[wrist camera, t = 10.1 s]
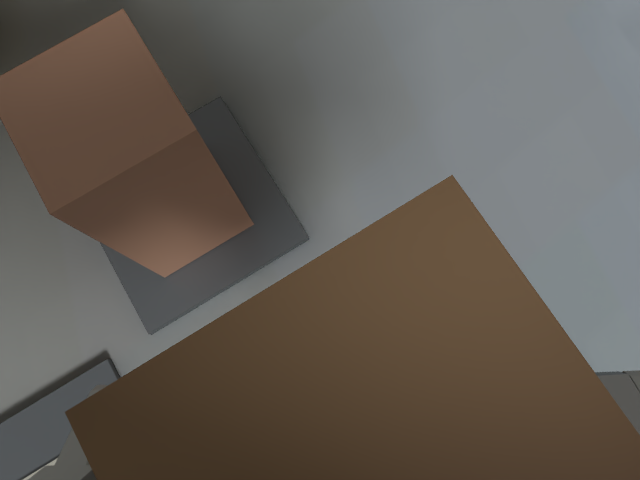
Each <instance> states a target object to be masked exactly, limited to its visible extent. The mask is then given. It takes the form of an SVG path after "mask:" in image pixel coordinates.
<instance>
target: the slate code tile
mask: <svg viewBox="0 0 640 480" xmlns="http://www.w3.org/2000/svg"><path fill="white" fill-rule="evenodd" d="M119 378H120V376H119V374H118V373H117V371H116V369H115V367H114V365H113V363H112V361H111V359H106V360H105V361H103V362H101V363H100V364H98V365H96V366H95V367H93V368H91V369H90V370H88V371H87V372H85V373H83V374H82V375H80V376H78V377H77V378H75V379H73V380H72V381H70V382H68V383H67V384H65V385H63V386H62V387H60V388H58V389H57V390H55V391H53V392H52V393H50V394H48V395H47V396H45V397H43V398H42V399H40V400H39V401H37V402H35V403H34V404H32V405H30V406H29V407H27V408H25V409H24V410H22V411H20V412H19V413H17V414H15V415H14V416H12V417H10V418H9V419H7V420H5V421H4V422H2V423H0V480H28V479H29V478H31V477H32V476H33V475H34V474H36V473H37V472H38V471H39V470H41V469H42V468H43V467H44V466H51V465H55V463H56V461H57V459H58V457H59V455H60V452H61V450H62V448H63V446H64V444H65V442H66V440H67V438H68V436H69V434H70V432H71V430H72V427H71V424H70V422H69V420H68V418H67V416H66V414H65V412H66V411H67V410H69V409H70V408H72V407H74V406H75V405H77V404H79V403H80V402H82V401H83V400H85V399H87V397H88V395H89V393H90V391H91V390H92V389H93V388H94V387H96V386H97V385H110V384H111V383H113V382H115V381H116V380H118V379H119Z"/></svg>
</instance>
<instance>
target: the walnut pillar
mask: <svg viewBox="0 0 640 480" xmlns="http://www.w3.org/2000/svg"><path fill="white" fill-rule="evenodd" d="M65 414H66V416H67V418H68V420H69V422H70V424H71V427H72V429H73V431H74V433H75V435H76V437H77V439H78V441H79V443H80V445H81V448H82V450H83V452H84V454H85V456H86V458H87V460H88V462H89V464H90V467H91V469H92V471H93V473H94V475H95V477H96V479H97V480H640V435H639V433H638V432H637V431H636V429H635V428H634V426H633V425H632V424H631V422H630V421H629V420H628V418H627V417H626V415H625V414H624V413H623V411H622V410H621V408H620V407H619V406H618V404H617V403H616V401H615V400H614V399H613V397H612V396H611V395H610V393H609V392H608V390H607V389H606V388H605V386H604V385H603V383H602V382H601V381H600V379H599V378H598V376H597V375H596V374H595V372H594V371H593V370H592V368H591V367H590V365H589V364H588V363H587V361H586V360H585V358H584V357H583V356H582V354H581V353H580V352H579V350H578V349H577V347H576V346H575V345H574V343H573V342H572V340H571V339H570V338H569V336H568V335H567V333H566V332H565V331H564V329H563V328H562V327H561V325H560V324H559V322H558V321H557V320H556V318H555V317H554V315H553V314H552V313H551V311H550V310H549V308H548V307H547V306H546V304H545V303H544V302H543V300H542V299H541V297H540V296H539V295H538V293H537V292H536V290H535V289H534V288H533V286H532V285H531V283H530V282H529V281H528V279H527V278H526V277H525V275H524V274H523V272H522V271H521V270H520V268H519V267H518V265H517V264H516V263H515V261H514V260H513V258H512V257H511V256H510V254H509V253H508V252H507V250H506V249H505V247H504V246H503V245H502V243H501V242H500V240H499V239H498V238H497V236H496V235H495V233H494V232H493V231H492V229H491V228H490V227H489V225H488V224H487V222H486V221H485V220H484V218H483V217H482V215H481V214H480V213H479V211H478V210H477V209H476V207H475V206H474V204H473V203H472V202H471V200H470V199H469V197H468V196H467V195H466V193H465V192H464V190H463V189H462V188H461V186H460V185H459V184H458V182H457V181H456V179H455V178H454V177H453V175H451V176H450V177H448V178H446V179H445V180H443V181H442V182H440V183H438V184H437V185H435V186H433V187H432V188H430V189H428V190H427V191H425V192H424V193H422V194H420V195H419V196H417V197H415V198H414V199H412V200H410V201H409V202H407V203H406V204H404V205H402V206H401V207H399V208H397V209H396V210H394V211H392V212H391V213H389V214H388V215H386V216H384V217H383V218H381V219H379V220H378V221H376V222H374V223H373V224H371V225H370V226H368V227H366V228H365V229H363V230H361V231H360V232H358V233H357V234H355V235H353V236H352V237H350V238H348V239H347V240H345V241H343V242H342V243H340V244H339V245H337V246H335V247H334V248H332V249H330V250H329V251H327V252H325V253H324V254H322V255H321V256H319V257H317V258H316V259H314V260H312V261H311V262H309V263H307V264H306V265H304V266H303V267H301V268H299V269H298V270H296V271H294V272H293V273H291V274H289V275H288V276H286V277H285V278H283V279H281V280H280V281H278V282H276V283H275V284H273V285H271V286H270V287H268V288H267V289H265V290H263V291H262V292H260V293H258V294H257V295H255V296H254V297H252V298H250V299H249V300H247V301H245V302H244V303H242V304H240V305H239V306H237V307H236V308H234V309H232V310H231V311H229V312H227V313H226V314H224V315H222V316H221V317H219V318H218V319H216V320H214V321H213V322H211V323H209V324H208V325H206V326H204V327H203V328H201V329H200V330H198V331H196V332H195V333H193V334H191V335H190V336H188V337H186V338H185V339H183V340H182V341H180V342H178V343H177V344H175V345H173V346H172V347H170V348H169V349H167V350H165V351H164V352H162V353H160V354H159V355H157V356H155V357H154V358H152V359H151V360H149V361H147V362H146V363H144V364H142V365H141V366H139V367H137V368H136V369H134V370H133V371H131V372H129V373H128V374H126V375H124V376H123V377H121V378H119V379H118V380H116V381H115V382H113V383H111V384H110V385H108V386H106V387H105V388H103V389H101V390H100V391H98V392H97V393H95V394H93V395H92V396H90V397H88V398H87V399H85V400H83V401H82V402H80V403H79V404H77V405H75V406H74V407H72V408H70V409H69V410H67V411H66V412H65Z"/></svg>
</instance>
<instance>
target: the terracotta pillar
mask: <svg viewBox="0 0 640 480" xmlns="http://www.w3.org/2000/svg"><path fill="white" fill-rule="evenodd" d="M0 118H1V120H2V122H3V124H4V126H5V128H6V130H7V132H8V134H9V136H10V138H11V140H12V142H13V144H14V145H15V147H16V149H17V151H18V153H19V155H20V157H21V159H22V161H23V163H24V165H25V167H26V169H27V171H28V173H29V175H30V177H31V179H32V181H33V183H34V184H35V186H36V188H37V190H38V192H39V194H40V196H41V198H42V200H43V202H44V204H45V206H46V208H47V210H48V212H49V214H50V215H52V216H54V217H56V218H57V219H59V220H61V221H63V222H65V223H66V224H68V225H70V226H72V227H74V228H76V229H77V230H79V231H81V232H83V233H85V234H86V235H88V236H90V237H92V238H94V239H95V240H97V241H99V242H101V243H103V244H105V245H106V246H108V247H110V248H112V249H114V250H115V251H117V252H119V253H121V254H123V255H124V256H126V257H128V258H130V259H132V260H134V261H135V262H137V263H139V264H141V265H143V266H144V267H146V268H148V269H150V270H152V271H153V272H155V273H157V274H159V275H161V276H162V277H164V278H165V277H167V276H169V275H170V274H172V273H174V272H175V271H177V270H179V269H180V268H182V267H184V266H185V265H187V264H189V263H190V262H192V261H194V260H195V259H197V258H199V257H200V256H202V255H204V254H205V253H207V252H209V251H210V250H212V249H214V248H215V247H217V246H219V245H220V244H222V243H224V242H225V241H227V240H229V239H231V238H232V237H234V236H236V235H237V234H239V233H241V232H242V231H244V230H246V229H247V228H249V227H251V226H252V225H254V223H253V222H252V220H251V218H250V217H249V215H248V213H247V212H246V210H245V208H244V207H243V205H242V203H241V202H240V200H239V198H238V197H237V195H236V194H235V192H234V190H233V189H232V187H231V185H230V184H229V182H228V180H227V179H226V177H225V175H224V174H223V172H222V170H221V169H220V167H219V165H218V164H217V162H216V161H215V159H214V157H213V156H212V154H211V152H210V151H209V149H208V147H207V146H206V144H205V142H204V141H203V139H202V137H201V136H200V134H199V132H198V131H197V129H196V128H195V126H194V124H193V123H192V121H191V119H190V118H189V116H188V114H187V113H186V111H185V109H184V108H183V106H182V104H181V103H180V101H179V99H178V98H177V96H176V95H175V93H174V91H173V90H172V88H171V86H170V85H169V83H168V81H167V80H166V78H165V76H164V75H163V73H162V71H161V70H160V68H159V67H158V65H157V63H156V62H155V60H154V58H153V57H152V55H151V53H150V52H149V50H148V48H147V47H146V45H145V43H144V42H143V40H142V38H141V37H140V35H139V34H138V32H137V30H136V29H135V27H134V25H133V24H132V22H131V20H130V19H129V17H128V15H127V14H126V12H125V10H124V9H121V10H119V11H117V12H115V13H114V14H112V15H110V16H108V17H106V18H105V19H103V20H101V21H99V22H97V23H95V24H94V25H92V26H90V27H88V28H86V29H85V30H83V31H81V32H79V33H77V34H75V35H74V36H72V37H70V38H68V39H66V40H65V41H63V42H61V43H59V44H57V45H55V46H54V47H52V48H50V49H48V50H46V51H45V52H43V53H41V54H39V55H37V56H35V57H34V58H32V59H30V60H28V61H26V62H24V63H23V64H21V65H19V66H17V67H15V68H14V69H12V70H10V71H8V72H6V73H4V74H3V75H1V76H0Z"/></svg>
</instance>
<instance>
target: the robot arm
mask: <svg viewBox="0 0 640 480" xmlns="http://www.w3.org/2000/svg"><path fill="white" fill-rule="evenodd" d="M595 374H596V375H597V376H598V378H599V379H600V381H601V382H602V383H603V385H604V386H605V388H606V389H607V390H608V392H609V393H610V395H611V396H612V397H613V399H614V400H615V401H616V403H617V404H618V406H619V407H620V408H621V410H622V411H623V413H624V414H625V415H626V417H627V418H628V420H629V421H630V422H631V424H632V425H633V426H634V428H635V429H636V431H637V432H638V433H639V435H640V371H623V372H619V371H617V372H595ZM106 386H108V385H97V386H96V387H94V388H93V389H92V390H91V391H90V393H89V395H88V397H90V396H92V395H93V394H95V393H97V392H98V391H100V390H101V389H103V388H105V387H106ZM88 397H87V398H88ZM28 480H97V479H96V477H95V475H94V473H93V471H92V469H91V467H90V464H89V462H88V460H87V458H86V456H85V454H84V452H83V450H82V448H81V445H80V443H79V441H78V439H77V437H76V435H75V433H74V431H73V429H72V430H71V432H70V434H69V436H68V438H67V440H66V442H65V444H64V446H63V448H62V450H61V452H60V455H59V457H58V459H57V461H56V463H55V465H51V466H44V467H43V468H42V469H41V470H39V471H38V472H37V473H36V474H34V475H33V476H32V477H31V478H29V479H28Z"/></svg>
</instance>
